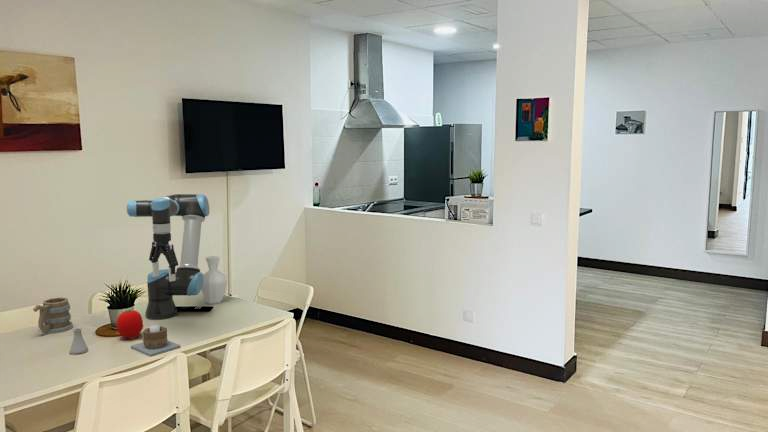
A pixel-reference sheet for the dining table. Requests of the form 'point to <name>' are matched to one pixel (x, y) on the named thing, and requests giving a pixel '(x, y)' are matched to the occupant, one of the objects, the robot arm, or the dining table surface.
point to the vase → (213, 282)
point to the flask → (78, 343)
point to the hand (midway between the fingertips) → (164, 278)
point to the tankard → (54, 315)
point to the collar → (155, 337)
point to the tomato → (129, 324)
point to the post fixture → (155, 350)
